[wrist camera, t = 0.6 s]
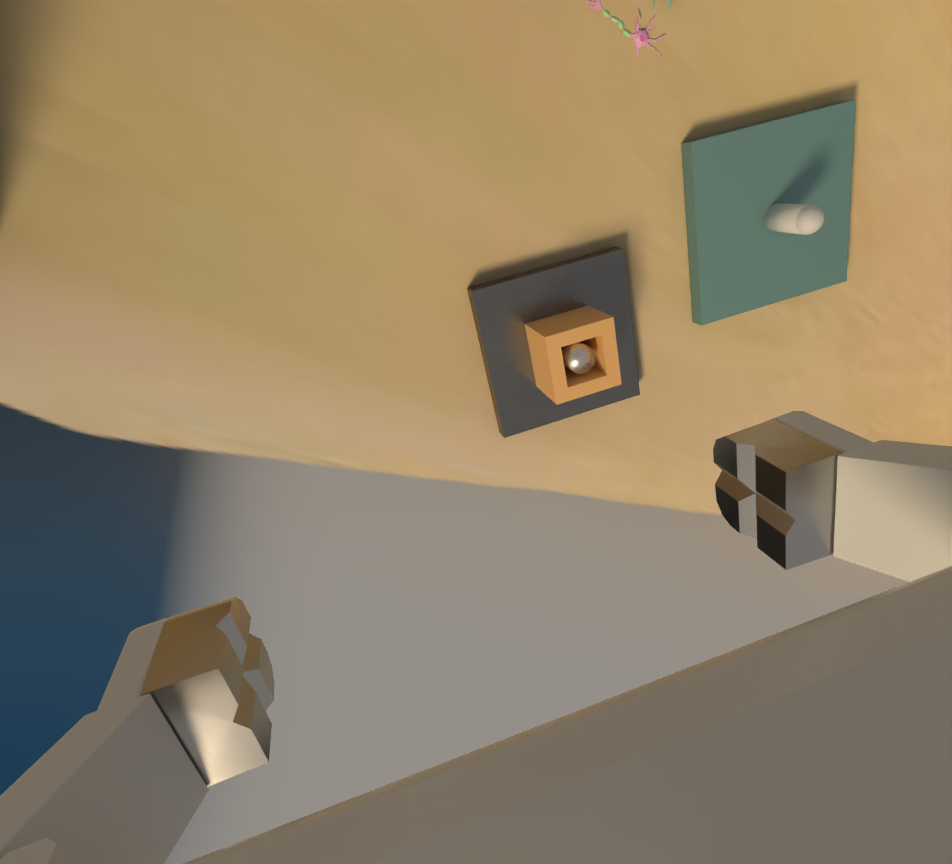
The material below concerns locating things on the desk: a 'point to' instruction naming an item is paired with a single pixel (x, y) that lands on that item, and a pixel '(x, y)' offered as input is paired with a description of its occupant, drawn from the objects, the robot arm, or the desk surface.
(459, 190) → the desk surface
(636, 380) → the stand
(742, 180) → the hub plate
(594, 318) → the collar
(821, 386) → the desk surface
